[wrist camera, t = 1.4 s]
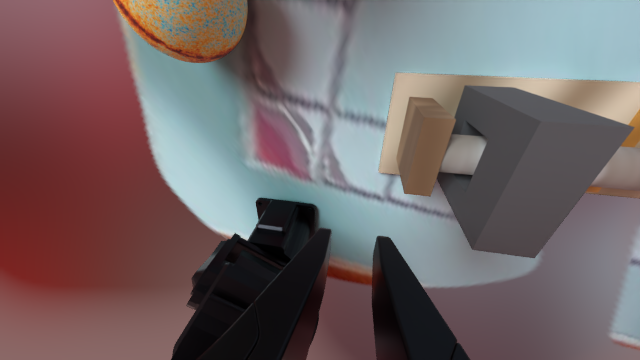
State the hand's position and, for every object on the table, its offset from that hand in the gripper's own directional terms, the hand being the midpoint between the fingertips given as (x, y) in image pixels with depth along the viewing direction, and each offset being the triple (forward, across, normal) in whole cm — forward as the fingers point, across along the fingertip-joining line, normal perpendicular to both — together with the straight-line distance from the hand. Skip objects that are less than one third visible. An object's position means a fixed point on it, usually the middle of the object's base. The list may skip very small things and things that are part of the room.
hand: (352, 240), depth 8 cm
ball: (+13, +11, -8) cm, 19 cm away
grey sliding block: (+12, -8, 0) cm, 14 cm away
